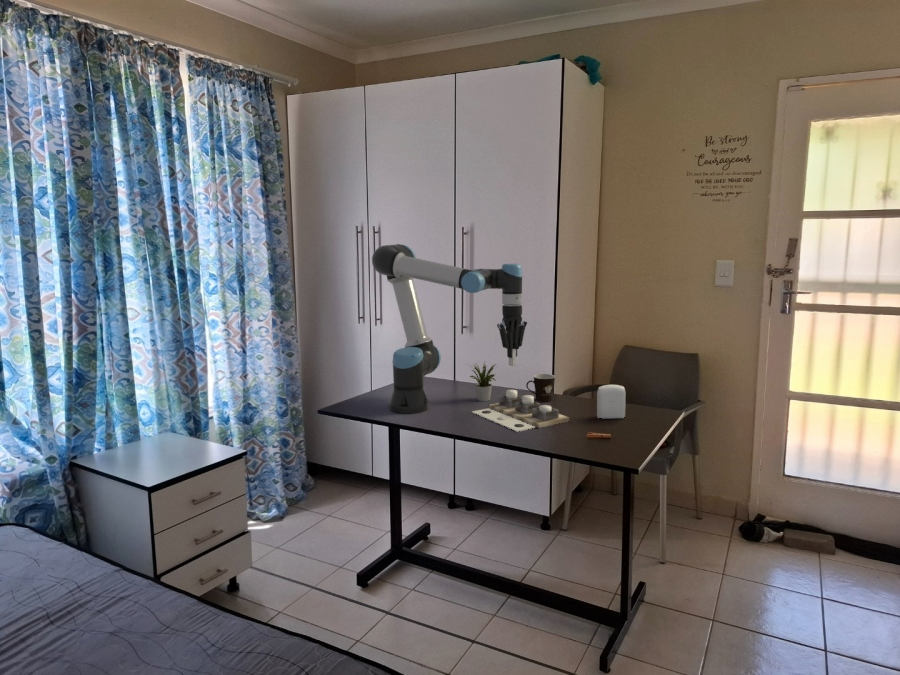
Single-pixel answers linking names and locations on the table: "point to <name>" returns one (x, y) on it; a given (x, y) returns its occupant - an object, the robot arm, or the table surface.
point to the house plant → (483, 383)
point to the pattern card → (503, 419)
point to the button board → (528, 412)
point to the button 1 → (511, 394)
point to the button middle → (527, 400)
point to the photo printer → (611, 401)
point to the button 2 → (545, 408)
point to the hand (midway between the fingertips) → (512, 365)
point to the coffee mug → (543, 387)
